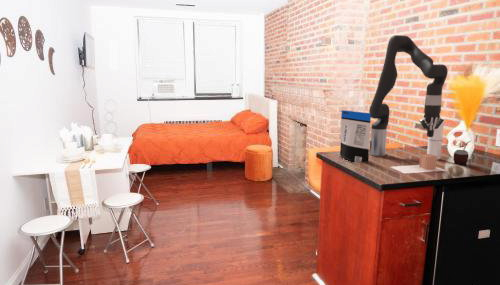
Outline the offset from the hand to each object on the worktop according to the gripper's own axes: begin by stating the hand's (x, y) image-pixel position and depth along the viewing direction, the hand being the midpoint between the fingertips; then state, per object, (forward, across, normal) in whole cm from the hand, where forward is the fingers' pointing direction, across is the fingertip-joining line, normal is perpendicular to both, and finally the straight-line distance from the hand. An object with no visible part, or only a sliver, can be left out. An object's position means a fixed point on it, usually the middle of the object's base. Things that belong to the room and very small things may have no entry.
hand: (429, 136), depth 171 cm
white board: (+18, +6, 0) cm, 19 cm away
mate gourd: (+19, -26, -6) cm, 33 cm away
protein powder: (+19, +28, -30) cm, 45 cm away
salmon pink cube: (+17, 0, 0) cm, 17 cm away
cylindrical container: (+19, -18, -19) cm, 32 cm away
